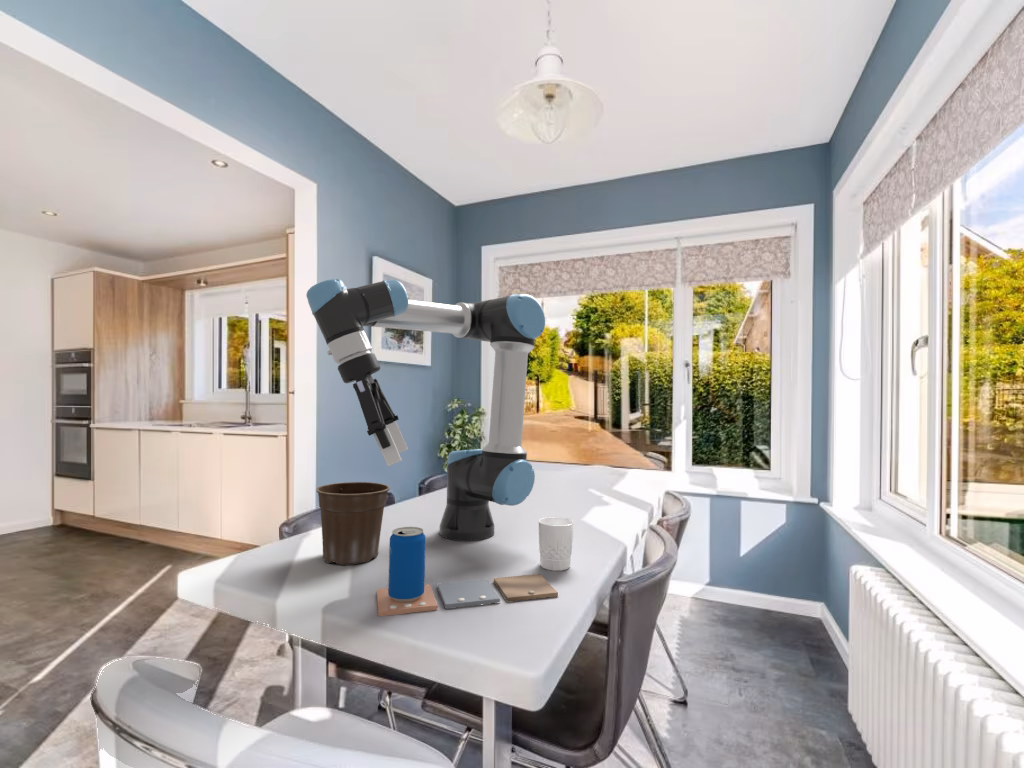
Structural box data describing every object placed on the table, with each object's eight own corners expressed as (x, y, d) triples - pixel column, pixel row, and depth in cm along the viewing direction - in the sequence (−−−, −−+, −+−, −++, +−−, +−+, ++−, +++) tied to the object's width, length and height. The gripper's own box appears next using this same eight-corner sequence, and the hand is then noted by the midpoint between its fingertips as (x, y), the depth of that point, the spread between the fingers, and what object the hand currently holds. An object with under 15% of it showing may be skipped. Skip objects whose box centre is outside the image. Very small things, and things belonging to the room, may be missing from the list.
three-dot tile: (376, 593, 92) (376, 587, 92) (429, 588, 95) (429, 583, 95) (378, 616, 83) (378, 610, 83) (437, 609, 86) (437, 604, 86)
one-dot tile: (493, 582, 99) (493, 577, 99) (539, 577, 102) (539, 572, 102) (507, 602, 89) (507, 596, 89) (557, 596, 92) (557, 591, 92)
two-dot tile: (437, 587, 96) (437, 582, 96) (486, 582, 99) (486, 577, 99) (445, 608, 86) (445, 603, 86) (499, 603, 89) (499, 597, 89)
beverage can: (386, 591, 91) (388, 527, 91) (420, 587, 93) (422, 525, 94) (390, 606, 85) (392, 537, 85) (427, 601, 87) (428, 534, 87)
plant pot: (373, 542, 124) (375, 479, 124) (398, 560, 111) (400, 489, 111) (306, 553, 114) (308, 484, 115) (325, 574, 101) (327, 496, 102)
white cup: (550, 557, 115) (551, 515, 115) (579, 565, 110) (580, 521, 110) (530, 566, 109) (531, 521, 109) (560, 574, 104) (560, 527, 104)
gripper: (349, 367, 107) (388, 454, 108) (319, 364, 82) (370, 478, 83) (382, 353, 108) (420, 441, 109) (361, 347, 83) (411, 460, 84)
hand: (398, 457), depth 96 cm, fingers open, 13 cm apart
